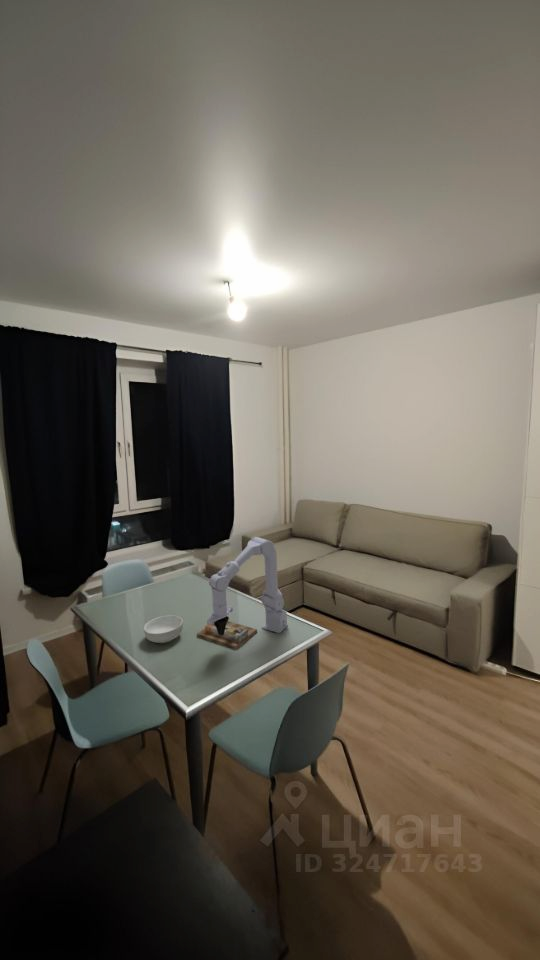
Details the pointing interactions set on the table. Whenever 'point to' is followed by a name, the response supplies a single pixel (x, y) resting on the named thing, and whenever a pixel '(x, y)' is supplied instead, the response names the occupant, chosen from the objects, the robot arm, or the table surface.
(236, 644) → the board
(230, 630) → the tab
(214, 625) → the tong arm
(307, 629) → the table surface
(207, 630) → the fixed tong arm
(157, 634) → the cereal bowl
